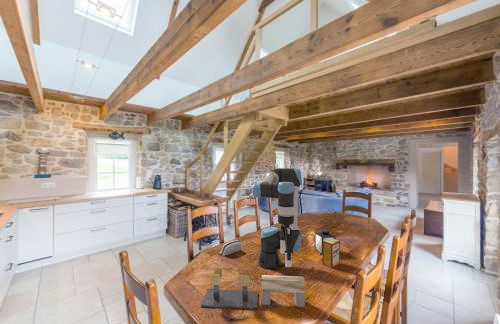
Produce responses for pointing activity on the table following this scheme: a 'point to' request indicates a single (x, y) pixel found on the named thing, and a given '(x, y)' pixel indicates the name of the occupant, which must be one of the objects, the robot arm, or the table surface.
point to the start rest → (298, 299)
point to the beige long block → (283, 284)
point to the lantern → (322, 238)
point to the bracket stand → (230, 293)
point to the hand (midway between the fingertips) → (285, 259)
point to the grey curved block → (231, 247)
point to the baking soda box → (331, 252)
